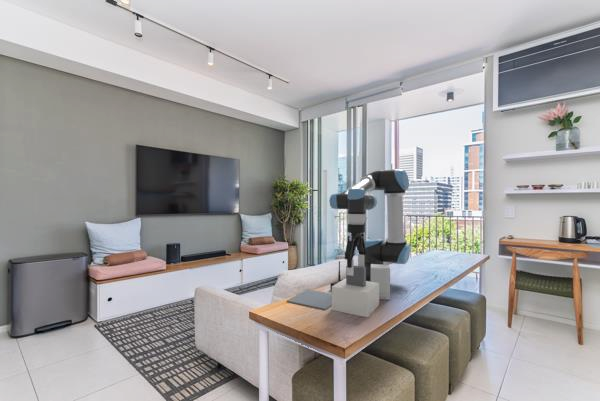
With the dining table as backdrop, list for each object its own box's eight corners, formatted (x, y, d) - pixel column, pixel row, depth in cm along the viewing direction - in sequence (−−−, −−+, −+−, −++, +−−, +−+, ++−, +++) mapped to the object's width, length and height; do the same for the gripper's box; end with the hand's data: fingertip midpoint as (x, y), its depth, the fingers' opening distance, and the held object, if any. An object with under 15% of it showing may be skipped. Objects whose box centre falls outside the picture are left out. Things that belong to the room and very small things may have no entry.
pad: (307, 290, 153) (307, 289, 153) (343, 296, 143) (343, 295, 143) (286, 301, 136) (286, 300, 136) (325, 310, 126) (325, 308, 126)
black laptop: (344, 283, 167) (344, 253, 167) (366, 288, 158) (366, 256, 158) (323, 291, 152) (323, 258, 152) (346, 297, 143) (346, 262, 143)
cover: (345, 298, 140) (345, 261, 140) (379, 305, 132) (379, 265, 132) (331, 309, 126) (331, 267, 126) (367, 317, 118) (368, 272, 118)
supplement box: (390, 300, 138) (390, 268, 138) (370, 298, 140) (371, 267, 140) (388, 294, 147) (388, 264, 147) (370, 293, 149) (370, 263, 149)
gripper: (357, 221, 142) (357, 265, 142) (336, 225, 120) (336, 276, 120) (373, 222, 138) (372, 267, 138) (354, 225, 116) (353, 279, 116)
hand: (355, 271), depth 129 cm, fingers open, 13 cm apart
